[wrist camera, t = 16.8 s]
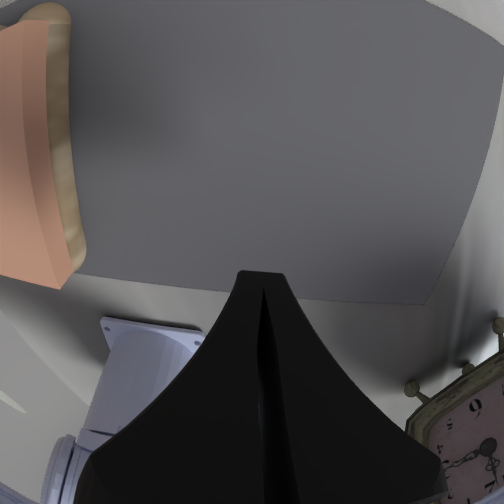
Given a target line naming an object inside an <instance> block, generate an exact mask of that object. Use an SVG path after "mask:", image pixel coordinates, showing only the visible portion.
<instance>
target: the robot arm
mask: <svg viewBox="0 0 504 504" xmlns="http://www.w3.org/2000/svg"><path fill="white" fill-rule="evenodd" d="M100 324H101V327H102V330H103V333H104V336H105V339H106V341H107V344H108V347H109V349H110V353H109V356H108V358H107V361H106V364H105V366H104V369H103V372H102V374H101V377H100V380H99V382H98V385H97V388H96V391H95V394H94V396H93V399H92V402H91V405H90V408H89V411H88V414H87V417H86V420H85V424H84V427H83V428H81V430H80V434H79V436H78V440H77V443H75V439H76V438H75V437H74V436H72V435H70V434H67V435H66V436H65V437H61V438H59V439H58V440H57V442H56V444H55V446H54V449H53V451H52V454H51V457H50V460H49V463H48V467H47V470H46V474H45V478H44V482H43V487H42V492H41V504H430V503H432V502H435V501H437V500H439V499H441V498H443V497H445V496H446V495H447V494H448V492H449V490H448V485H447V480H446V475H445V471H444V468H443V465H442V462H441V459H440V457H439V456H437V455H436V454H434V453H433V452H432V451H430V450H429V449H427V448H426V447H425V446H423V445H422V444H420V443H419V442H418V441H416V440H415V439H413V438H412V437H411V436H409V435H408V434H407V433H406V432H404V431H403V430H402V429H401V428H400V427H398V426H397V425H396V424H395V423H394V422H393V421H391V420H390V419H389V418H388V417H387V416H386V415H385V414H384V413H383V412H382V411H381V410H380V409H379V408H378V407H377V406H376V405H375V404H374V403H373V402H372V401H371V400H370V399H369V398H368V397H367V396H366V395H365V394H364V393H363V392H362V391H361V390H360V389H359V388H358V387H357V386H356V385H355V383H354V382H353V381H352V380H351V379H350V378H349V377H348V375H347V374H346V373H345V372H344V370H343V369H342V368H341V367H340V366H339V364H338V363H337V362H336V360H335V359H334V358H333V356H332V355H331V354H330V352H329V351H328V350H327V348H326V347H325V345H324V344H323V342H322V341H321V339H320V338H319V336H318V335H317V333H316V332H315V330H314V329H313V327H312V325H311V324H310V322H309V320H308V319H307V317H306V316H305V314H304V312H303V310H302V309H301V307H300V305H299V303H298V301H297V299H296V298H295V296H294V294H293V292H292V290H291V288H290V286H289V283H288V281H287V279H286V277H285V275H284V274H283V273H274V272H261V271H248V270H241V271H239V272H238V273H237V278H236V281H235V284H234V287H233V289H232V291H231V294H230V296H229V298H228V300H227V302H226V304H225V306H224V308H223V309H222V311H221V313H220V315H219V317H218V319H217V320H216V322H215V324H214V325H213V327H212V328H211V330H210V331H209V333H208V334H207V336H206V338H205V335H204V333H203V332H201V331H198V330H190V329H182V328H174V327H167V326H160V325H153V324H146V323H140V322H133V321H127V320H121V319H116V318H110V317H102V318H101V320H100ZM258 403H259V406H258ZM0 504H39V503H37V502H35V501H33V500H31V499H29V498H27V497H25V496H23V495H22V494H20V493H18V492H16V491H15V490H13V489H11V488H9V487H8V486H6V485H4V484H3V483H1V482H0ZM474 504H504V486H503V487H501V488H499V489H497V490H496V491H494V492H492V493H490V494H488V495H487V496H485V497H484V498H483V499H482V500H480V501H478V502H476V503H474Z"/></svg>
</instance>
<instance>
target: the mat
mask: <svg viewBox="0 0 504 504" xmlns="http://www.w3.org/2000/svg"><path fill="white" fill-rule="evenodd" d="M47 2H54V3H58V4H60V5H62V6H64V7H65V8H66V9H67V10H68V12H69V14H70V17H71V37H70V53H69V118H70V135H71V147H72V158H73V167H74V176H75V183H76V190H77V197H78V203H79V209H80V215H81V221H82V226H83V231H84V236H85V241H86V249H87V250H86V257H85V260H84V262H83V264H82V265H81V267H80V268H79V269H78V270H76V271H75V272H74V273H78V274H85V275H91V276H98V277H105V278H112V279H120V280H127V281H134V282H142V283H150V284H158V285H166V286H175V287H184V288H192V289H202V290H211V291H221V292H231V291H232V289H233V287H234V284H235V281H236V278H237V273H238V272H239V271H241V270H248V271H261V272H274V273H283V274H284V275H285V277H286V279H287V281H288V283H289V286H290V288H291V290H292V292H293V294H294V296H295V298H301V299H315V300H331V301H347V302H366V303H387V304H414V305H424V304H425V302H426V300H427V298H428V297H429V295H430V293H431V291H432V289H433V287H434V285H435V283H436V281H437V280H438V278H439V276H440V274H441V272H442V270H443V267H444V265H445V263H446V261H447V259H448V257H449V255H450V253H451V250H452V248H453V246H454V244H455V242H456V239H457V237H458V235H459V232H460V230H461V227H462V225H463V223H464V220H465V218H466V215H467V212H468V210H469V207H470V205H471V202H472V199H473V196H474V193H475V191H476V188H477V185H478V182H479V179H480V176H481V173H482V169H483V166H484V163H485V159H486V156H487V152H488V149H489V145H490V141H491V137H492V133H493V129H494V125H495V120H496V116H497V111H498V106H499V101H500V95H501V89H502V83H503V76H504V46H503V45H502V44H500V43H499V42H497V41H496V40H494V39H493V38H491V37H490V36H488V35H486V34H485V33H483V32H482V31H480V30H478V29H477V28H475V27H473V26H472V25H470V24H468V23H466V22H465V21H463V20H461V19H459V18H457V17H456V16H454V15H452V14H450V13H448V12H446V11H444V10H442V9H440V8H438V7H436V6H434V5H431V4H429V3H427V2H425V1H423V0H19V1H16V2H14V3H12V4H10V5H8V6H6V7H4V8H2V9H0V25H4V26H6V27H10V26H12V25H14V24H17V23H18V21H19V20H20V18H21V17H22V16H23V15H24V14H25V13H26V12H27V11H28V10H29V9H31V8H33V7H34V6H36V5H39V4H42V3H47Z"/></svg>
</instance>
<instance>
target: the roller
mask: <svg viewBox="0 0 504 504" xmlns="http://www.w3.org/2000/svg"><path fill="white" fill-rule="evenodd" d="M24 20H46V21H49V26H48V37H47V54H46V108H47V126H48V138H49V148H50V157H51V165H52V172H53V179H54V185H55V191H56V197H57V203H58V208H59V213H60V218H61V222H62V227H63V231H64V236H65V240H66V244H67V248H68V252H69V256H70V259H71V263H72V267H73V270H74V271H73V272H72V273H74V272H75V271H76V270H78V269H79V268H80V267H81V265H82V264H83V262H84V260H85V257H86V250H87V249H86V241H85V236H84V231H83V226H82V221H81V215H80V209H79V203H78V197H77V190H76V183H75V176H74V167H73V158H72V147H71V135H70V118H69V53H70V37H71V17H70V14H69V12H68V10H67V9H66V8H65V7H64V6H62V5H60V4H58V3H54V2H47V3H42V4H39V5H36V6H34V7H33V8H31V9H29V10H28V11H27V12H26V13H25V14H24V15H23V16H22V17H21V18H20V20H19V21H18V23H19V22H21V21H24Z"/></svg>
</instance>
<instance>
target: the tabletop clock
mask: <svg viewBox="0 0 504 504" xmlns="http://www.w3.org/2000/svg"><path fill="white" fill-rule="evenodd" d="M492 328H493V331H494V332H495V333H496V334H498V341H499V352H497V353H496V354H494V355H493V356H491V357H489V358H488V359H487V360H485V361H484V362H482V363H481V364H479V365H478V366H476V367H474V365H473V364H471V363H470V364H466V365H465V366H464V368H463V369H462V374H463V375H462V376H460V377H459V378H457V379H456V380H455V381H454V382H452V383H451V384H450V385H448V386H447V387H446V388H444V389H443V390H441V391H440V392H439V393H437V394H436V395H434V396H433V397H432V398H429V397H427V396H425V395H424V394H422V393H421V392H419V390H420V387H419V385H418V383H416V382H409V383H408V384H407V385H406V386H405V388H404V392H405V394H406V396H408V397H414V396H417V397H418V398H419V399H420V400H421V401H422V402H423V404H422V405H421V406H420V407H419V408H418V409H417V410H416V411H415V412H414V413H413V414H412V415H411V416H410V417H409V418H408V419H407V420H406V427H405V432H406V433H407V434H408V435H409V436H411V437H412V438H413V439H415V440H416V441H418V442H419V443H420V444H422V445H423V446H425V447H426V448H427V449H429V450H430V451H432V452H433V453H434V454H436V455H437V456H439V457H440V459H441V462H442V465H443V468H444V471H445V475H446V480H447V485H448V490H449V492H448V494H447V495H446V496H445V497H443V498H441V499H439V500H437V501H435V502H432V503H430V504H474V503H476V502H478V501H480V500H482V499H483V498H484V497H485V496H487V495H488V494H490V493H492V492H494V491H496V490H497V489H499V488H501V487H503V486H504V337H503V333H504V318H502V317H498V318H496V319H495V320H494V322H493V325H492Z"/></svg>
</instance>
